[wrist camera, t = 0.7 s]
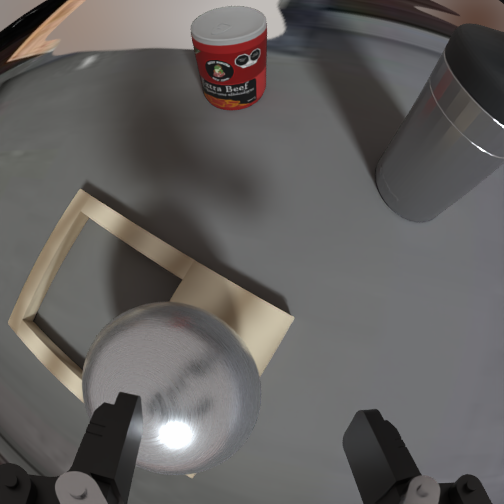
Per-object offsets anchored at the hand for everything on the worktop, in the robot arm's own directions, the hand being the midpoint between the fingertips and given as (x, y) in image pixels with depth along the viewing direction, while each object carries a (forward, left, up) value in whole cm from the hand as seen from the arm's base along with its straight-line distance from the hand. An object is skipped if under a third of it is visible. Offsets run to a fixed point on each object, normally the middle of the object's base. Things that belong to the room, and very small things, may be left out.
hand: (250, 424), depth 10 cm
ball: (+5, -1, -9) cm, 11 cm away
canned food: (-6, -31, -17) cm, 36 cm away
